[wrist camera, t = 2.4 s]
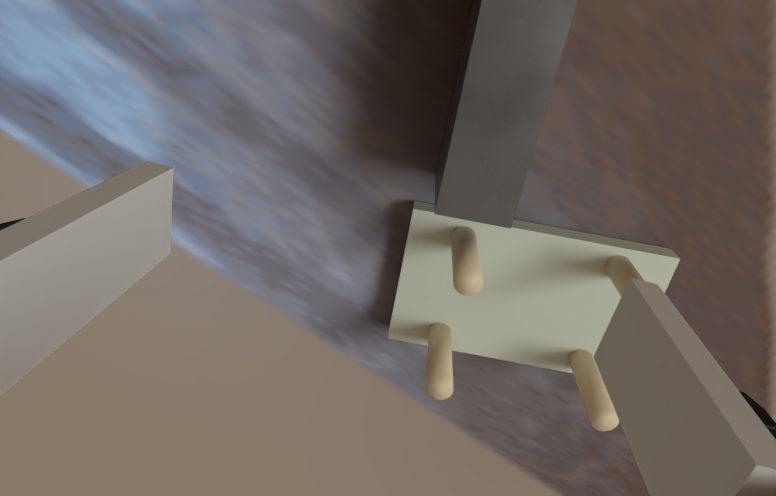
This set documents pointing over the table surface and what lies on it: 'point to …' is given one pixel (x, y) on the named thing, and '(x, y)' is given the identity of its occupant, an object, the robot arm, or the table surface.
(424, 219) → the peg rack
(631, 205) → the table surface
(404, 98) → the table surface
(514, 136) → the long grey bar
